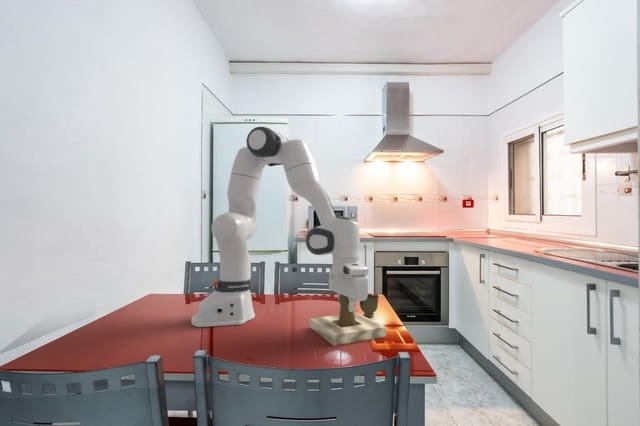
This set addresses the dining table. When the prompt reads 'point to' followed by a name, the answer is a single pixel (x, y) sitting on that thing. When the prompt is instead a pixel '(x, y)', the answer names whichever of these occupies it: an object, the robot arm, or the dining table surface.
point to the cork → (345, 313)
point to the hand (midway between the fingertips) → (346, 309)
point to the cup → (369, 305)
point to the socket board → (347, 329)
